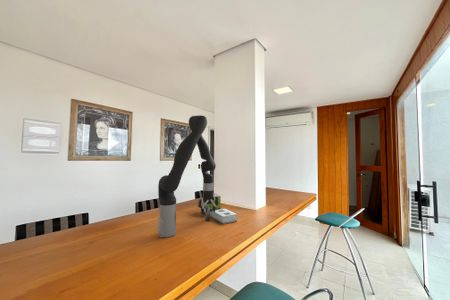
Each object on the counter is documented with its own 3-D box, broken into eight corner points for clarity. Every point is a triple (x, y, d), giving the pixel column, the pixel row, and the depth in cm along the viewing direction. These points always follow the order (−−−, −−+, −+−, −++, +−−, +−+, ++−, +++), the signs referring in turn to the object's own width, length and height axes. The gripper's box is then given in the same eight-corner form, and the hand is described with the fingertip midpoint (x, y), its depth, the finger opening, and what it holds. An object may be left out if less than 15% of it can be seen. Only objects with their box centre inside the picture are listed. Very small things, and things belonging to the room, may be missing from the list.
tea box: (202, 211, 152) (202, 193, 152) (213, 210, 156) (213, 192, 156) (208, 216, 138) (208, 196, 139) (221, 215, 142) (221, 195, 143)
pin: (206, 221, 128) (206, 208, 128) (204, 220, 130) (204, 207, 131) (210, 220, 129) (210, 207, 130) (208, 219, 132) (208, 206, 132)
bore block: (223, 224, 122) (223, 216, 122) (212, 217, 136) (212, 210, 136) (236, 221, 128) (236, 214, 128) (224, 215, 142) (224, 208, 142)
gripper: (200, 191, 124) (201, 215, 123) (219, 189, 131) (219, 212, 130) (196, 189, 130) (196, 212, 130) (214, 187, 137) (215, 209, 137)
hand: (208, 212), depth 130 cm, fingers open, 8 cm apart
